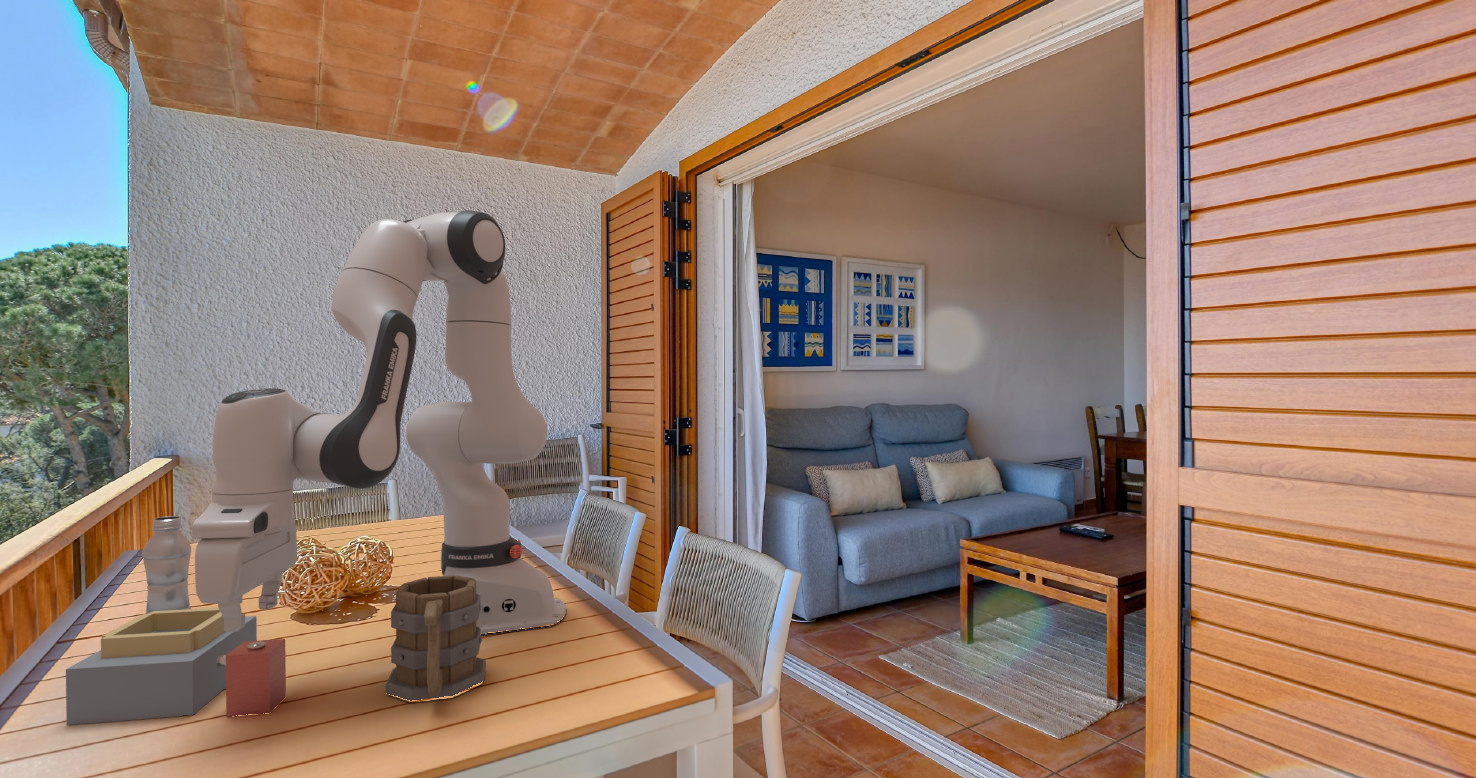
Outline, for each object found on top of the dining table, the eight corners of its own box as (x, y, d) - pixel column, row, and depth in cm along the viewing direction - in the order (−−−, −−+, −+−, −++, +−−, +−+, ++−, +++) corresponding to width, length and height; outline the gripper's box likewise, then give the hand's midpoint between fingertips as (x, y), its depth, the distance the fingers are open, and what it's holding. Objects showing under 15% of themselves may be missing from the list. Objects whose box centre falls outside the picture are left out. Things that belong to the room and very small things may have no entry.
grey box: (262, 656, 113) (262, 595, 113) (192, 714, 93) (192, 641, 93) (160, 663, 110) (159, 600, 110) (66, 724, 91) (65, 649, 91)
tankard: (397, 670, 108) (396, 569, 108) (487, 661, 111) (486, 563, 111) (368, 733, 89) (367, 611, 88) (478, 720, 92) (477, 602, 92)
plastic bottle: (166, 646, 117) (165, 522, 117) (132, 643, 119) (130, 520, 118) (203, 632, 124) (202, 515, 123) (170, 629, 125) (169, 513, 125)
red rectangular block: (285, 697, 99) (285, 635, 99) (269, 714, 94) (269, 649, 94) (229, 701, 97) (228, 639, 97) (209, 718, 92) (208, 653, 92)
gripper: (262, 501, 105) (261, 597, 105) (183, 527, 85) (181, 646, 85) (310, 500, 106) (309, 595, 106) (243, 525, 86) (242, 642, 86)
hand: (252, 618), depth 95 cm, fingers open, 8 cm apart
